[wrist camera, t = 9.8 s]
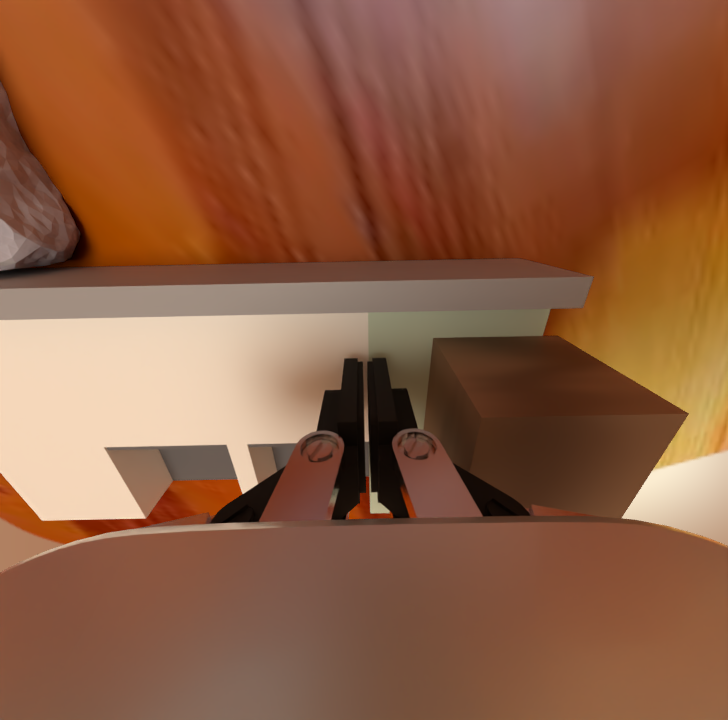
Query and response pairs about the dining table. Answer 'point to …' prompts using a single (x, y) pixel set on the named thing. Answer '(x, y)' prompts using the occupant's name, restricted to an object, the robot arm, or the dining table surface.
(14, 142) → the stone block
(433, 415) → the walnut cube
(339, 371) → the box
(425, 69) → the dining table surface
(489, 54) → the dining table surface
